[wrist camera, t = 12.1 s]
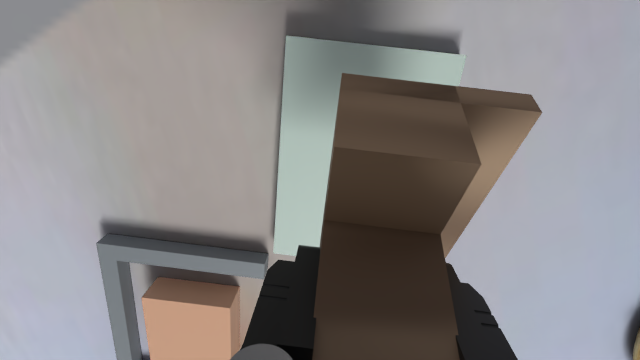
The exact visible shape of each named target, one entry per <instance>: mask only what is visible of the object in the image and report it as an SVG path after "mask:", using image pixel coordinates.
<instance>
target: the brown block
mask: <svg viewBox="0 0 640 360" xmlns="http://www.w3.org/2000/svg"><path fill="white" fill-rule="evenodd" d="M541 113H542V111H541V110H540V108H539V107H538V105H537V103H536V102H535V100H534V98H533V97H532V95H529V94H520V93H512V92H503V91H494V90H486V89H477V88H468V87H460V86H451V85H442V84H434V83H425V82H416V81H408V80H399V79H391V78H382V77H373V76H365V75H356V74H347V73H342V76H341V84H340V92H339V99H338V107H337V115H336V123H335V130H334V138H333V146H332V154H331V161H330V169H329V177H328V185H327V192H326V200H325V208H324V215H323V223H322V231H321V239H320V247H321V249H320V259H319V268H318V278H317V287H316V297H315V307H314V316H313V317H314V318H316V327H315V338H314V349H313V356H312V360H460V359H459V353H458V347H457V341H456V336H455V335H458V329H457V324H456V318H455V313H454V307H453V301H452V296H451V290H450V285H449V279H448V273H447V268H446V262H445V258H446V256H447V255H448V253H449V252H450V250H451V249H452V247H453V246H454V244H455V243H456V241H457V240H458V238H459V237H460V235H461V234H462V232H463V231H464V229H465V228H466V226H467V225H468V223H469V222H470V220H471V219H472V217H473V216H474V214H475V213H476V211H477V210H478V208H479V207H480V205H481V204H482V202H483V201H484V199H485V198H486V196H487V195H488V193H489V192H490V190H491V189H492V187H493V186H494V184H495V183H496V181H497V180H498V178H499V177H500V175H501V174H502V172H503V171H504V169H505V168H506V166H507V165H508V163H509V162H510V160H511V159H512V157H513V155H514V154H515V152H516V151H517V149H518V148H519V146H520V145H521V143H522V142H523V140H524V139H525V137H526V136H527V134H528V133H529V131H530V130H531V128H532V127H533V125H534V124H535V122H536V121H537V119H538V118H539V116H540V115H541Z"/></svg>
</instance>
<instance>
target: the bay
mask: <svg viewBox="0 0 640 360" xmlns="http://www.w3.org/2000/svg"><path fill="white" fill-rule="evenodd" d="M96 245H97V250H98V256H99V261H100V267H101V273H102V278H103V284H104V289H105V295H106V301H107V306H108V312H109V317H110V323H111V329H112V334H113V340H114V346H115V351H116V357H117V360H142V354H141V347H140V340H139V332H138V325H137V318H136V311H135V303H134V296H133V289H132V282H131V275H130V267H129V262H132V263H140V264H147V265H155V266H163V267H171V268H179V269H187V270H195V271H203V272H211V273H219V274H226V275H234V276H242V277H250V278H258V279H264V277H265V274H266V272H267V269H268V254H267V253H259V252H251V251H243V250H235V249H227V248H219V247H211V246H203V245H195V244H187V243H179V242H171V241H163V240H155V239H147V238H139V237H131V236H123V235H115V234H107V235H106V236H105V237H103V238H102V239H101V240H100V241H98V242H97V243H96Z"/></svg>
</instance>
